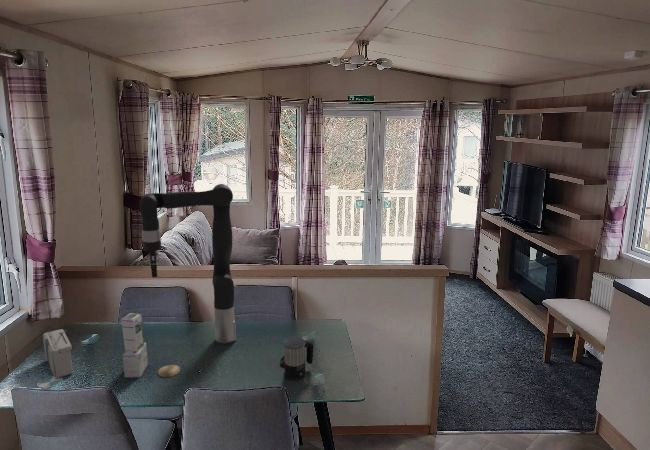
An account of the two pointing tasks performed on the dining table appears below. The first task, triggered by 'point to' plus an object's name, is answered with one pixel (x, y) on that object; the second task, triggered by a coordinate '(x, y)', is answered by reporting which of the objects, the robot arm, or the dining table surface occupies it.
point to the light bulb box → (135, 362)
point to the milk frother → (296, 357)
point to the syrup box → (133, 332)
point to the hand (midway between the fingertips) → (154, 273)
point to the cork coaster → (168, 371)
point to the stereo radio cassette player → (58, 352)
